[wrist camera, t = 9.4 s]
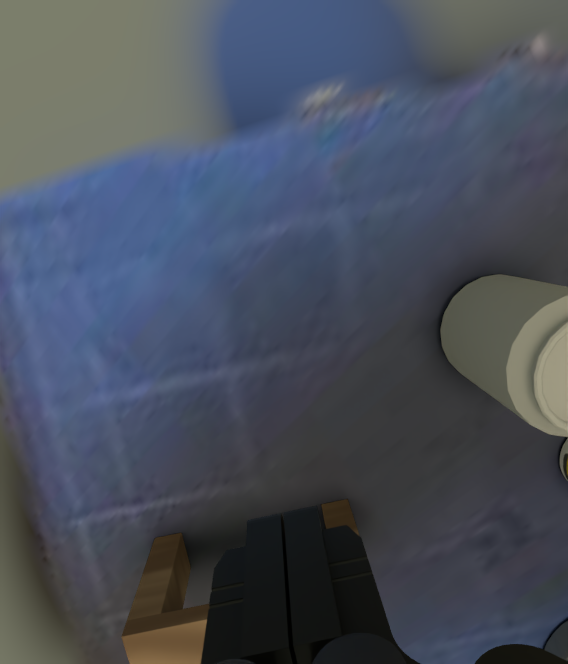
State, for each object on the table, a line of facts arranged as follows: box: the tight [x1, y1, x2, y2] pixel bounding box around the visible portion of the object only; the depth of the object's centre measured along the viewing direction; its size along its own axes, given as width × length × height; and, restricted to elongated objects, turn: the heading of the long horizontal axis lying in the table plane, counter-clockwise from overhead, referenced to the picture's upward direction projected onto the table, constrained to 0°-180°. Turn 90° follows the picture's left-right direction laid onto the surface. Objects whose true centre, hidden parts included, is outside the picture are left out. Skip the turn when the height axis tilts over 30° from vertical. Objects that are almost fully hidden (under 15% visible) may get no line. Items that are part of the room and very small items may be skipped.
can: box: [440, 274, 568, 437], centre depth 29 cm, size 8×8×12 cm
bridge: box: [122, 499, 359, 664], centre depth 33 cm, size 3×14×9 cm, turn 101°
